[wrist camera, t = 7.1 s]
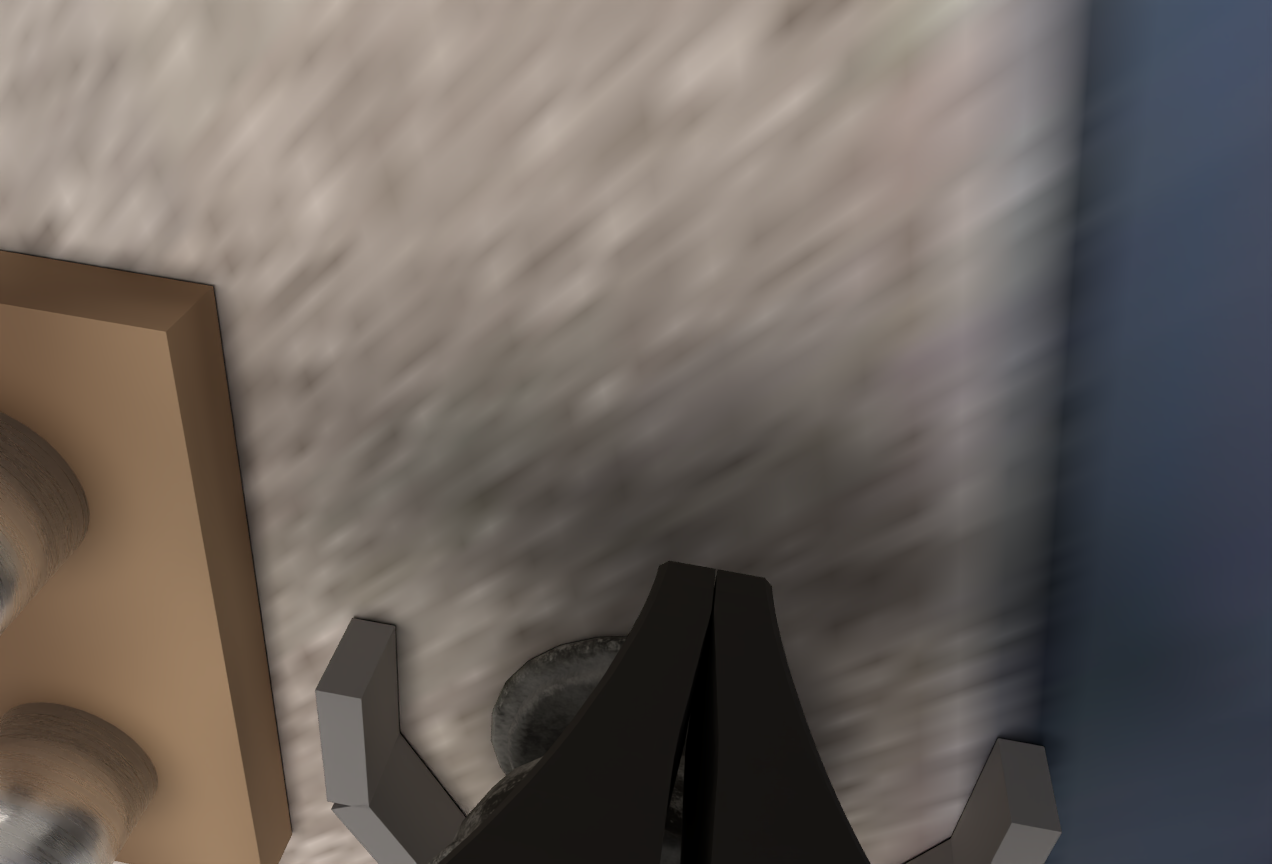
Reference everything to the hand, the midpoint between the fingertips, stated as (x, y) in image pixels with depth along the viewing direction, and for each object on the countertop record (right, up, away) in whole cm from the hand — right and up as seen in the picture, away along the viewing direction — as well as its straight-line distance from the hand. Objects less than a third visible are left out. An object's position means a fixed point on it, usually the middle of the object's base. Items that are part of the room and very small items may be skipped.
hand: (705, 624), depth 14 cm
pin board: (-10, 0, +4) cm, 11 cm away
